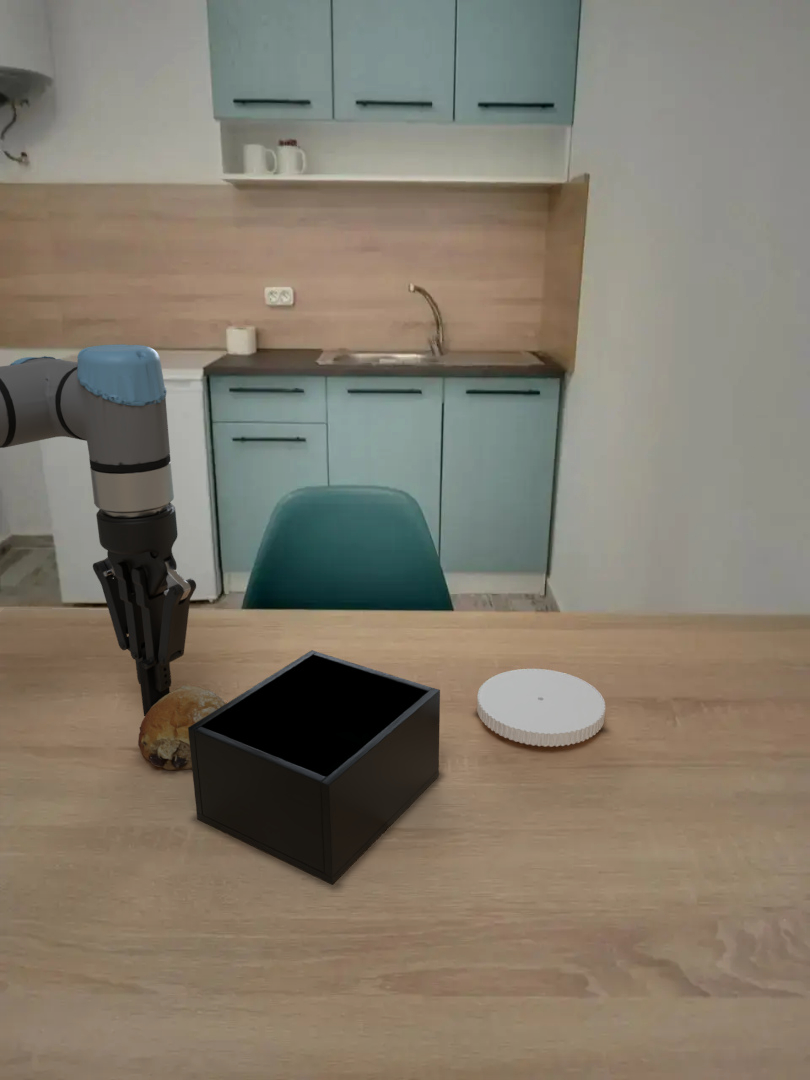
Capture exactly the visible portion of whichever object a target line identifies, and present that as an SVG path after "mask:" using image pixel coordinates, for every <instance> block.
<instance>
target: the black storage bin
mask: <svg viewBox="0 0 810 1080" xmlns="http://www.w3.org/2000/svg"><path fill="white" fill-rule="evenodd" d="M440 718H441V690H440V689H439V688H435V687H431V686H428V685H425V684H421V683H419V682H415V681H412V680H408V679H406V678H402V677H399V676H396V675H393V674H390V673H387V672H384V671H380V670H377V669H373V668H371V667H367V666H365V665H361V664H357V663H354V662H352V661H348V660H345V659H341V658H339V657H335V656H331V655H330V654H329V655H328V654H325V653H322V652H320V651H317V650H312V649H311V650H309V651H308V652H306V653H305V654H303V655H301V656H299V657H298V658H297V659H295V660H294V661H292V662H290V663H289V664H287V665H286V666H284V667H282V668H280V669H279V670H278V671H276V672H274V673H273V674H271V675H270V676H267V677H266V678H264V679H263V680H261V681H259V682H258V683H257V684H255V685H254V686H252V687H250V688H249V689H247V690H246V691H244V692H242V693H241V694H239V695H238V696H236V697H235V698H233V699H231V700H229V701H228V702H226V704H225V705H223V706H222V707H220V708H219V709H217V710H215V711H214V712H212V713H211V714H209V715H207V716H206V717H204V718H203V719H201V720H199V721H198V722H196V723H195V724H193V725H191V726H190V727H188V733H189V743H190V752H191V762H192V768H191V771H192V772H191V773H192V782H193V788H194V789H193V790H194V801H195V810H196V819H197V820H198V821H200V822H201V823H203V824H206V825H207V826H210V827H213V828H214V829H217V831H220V832H222V833H224V834H227V835H229V836H231V837H232V838H235V839H237V840H239V841H241V842H243V843H246V844H248V845H250V846H252V847H253V848H255V849H258V850H260V851H262V852H264V853H266V854H268V855H270V856H272V857H273V858H275V859H278V860H280V861H283V862H284V863H287V864H288V865H290V866H293V867H294V868H297V869H298V870H301V871H304V872H305V873H307V874H309V875H311V876H313V877H315V878H317V879H320V880H321V881H324V882H325V883H328V884H330V885H334V884H335V883H336V882H337V881H338V880H339V879H340V878H341V877H342V876H343V875H344V874H345V873H346V872H347V871H348V870H349V868H351V867H352V866H353V865H354V864H355V863H356V861H358V860H359V858H360V857H361V856H363V854H364V853H366V851H367V850H368V849H369V848H370V847H371V846H372V845H373V844H374V843H375V842H376V841H377V840H378V839H379V838H380V837H381V836H382V835H383V834H384V833H385V832H386V831H387V830H388V829H389V828H390V827H391V826H392V825H393V823H395V822H396V821H397V820H398V818H400V817H401V815H402V814H404V813H405V812H406V810H407V809H409V807H410V806H411V805H412V804H413V803H414V802H416V800H417V799H418V798H419V797H420V796H421V795H422V794H423V793H424V792H425V791H426V790H427V789H428V788H429V787H430V786H431V785H432V784H433V783H434V782H435V781H436V780H437V779H438V778H439V775H440V769H439V768H440V725H441V723H440V720H441V719H440Z"/></svg>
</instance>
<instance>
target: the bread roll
mask: <svg viewBox="0 0 810 1080" xmlns="http://www.w3.org/2000/svg"><path fill="white" fill-rule="evenodd" d="M225 704H227V702H226V701H225V700H224V699H223V698H222V697H221V696H220V695H218V694H217V693H216V692H214V691H212V690H211V689H209V688H204V687H201V686H191V685H182V686H180V687H179V688H177V689H175V690H173V691H170V693H169V694H167V695H165V696H164V697H163V698H161V699H160V700H159V701H158V702H157V703H156V704H154V705H153V706H152V707H151V709H150V710H149V711H148V713H147V714H146V716H143V717H144V718H143V719H142V721H141V723H140V726H139V733H138V741H137V742H138V743H137V744H138V747H139V750H140V752H141V755H143V756H144V758H145V760H146V761H149V762H150V763H151V764H152V765H153V766H155V767H158V768H163V769H164V770H166V771H167V770H169V771H170V770H172V771H181V770H192V762H191V752H190V743H189V733H188V727H190V726H191V725H193V724H195V723H196V722H198V721H199V720H201V719H203V718H204V717H206V716H207V715H209V714H211V713H212V712H214V711H215V710H217V709H219V708H220V707H222V706H223V705H225Z"/></svg>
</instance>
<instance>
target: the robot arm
mask: <svg viewBox="0 0 810 1080" xmlns="http://www.w3.org/2000/svg"><path fill="white" fill-rule="evenodd" d="M76 358H77V361H71V360H64V359H62V358H55V357H53V356H47V355H44V356H39V357H36V356H33V357H32V356H28V357H22V358H19V359H17V360H14V361H13V362H11V363H10V364H9V365H8V364H7V365H2V366H0V449H1V448H2V449H5V448H9V447H15V446H19V445H24V444H28V443H34V442H39V441H43V440H48V439H54V438H61V437H62V438H63V437H64V438H70V439H75V440H80V441H86V444H87V451H88V456H89V458H88V459H89V466H90V467H89V468H90V478H91V486H92V487H91V488H92V496H93V504H94V505H95V507H96V508H97V509H98V511H97V512H96V514H95V516H96V523H97V533H98V540H99V544H100V546H101V547H102V548H103V549H104V550H106V551H107V552H106V555H107V557H105V558H104V559H102V560H99V561H96V562H94V563H93V564H92V569H93V572H94V573H95V576H96V578H97V580H98V581H99V583H100V584H101V585H100V586H101V588H102V592H103V595H104V599H105V602H106V605H107V609H108V613H109V617H110V619H111V622H112V623H111V624H112V626H113V629H114V633H115V637H116V640H117V643H118V646H119V649H120V650H122V651H126V650H127V651H129V652H130V656H131V658H132V659H133V660H134V661H135V669H136V677H137V678H136V679H137V681H138V684H139V685H140V686H139V687H140V693H141V694H140V695H141V702H142V711H143V717H145V716H146V714H147V713H148V711H149V710H150V709H151V707H152V706H153V705H154V704H156V703H157V702H158V701H159V700H160V699H161V698H163V697H164V696H165V695H167V694H169V693H171V690H170V687H172V675H171V674H172V673H171V664H170V663H172V662H174V661H175V660H177V659H179V658H181V657H183V656H184V654H185V647H186V639H187V629H188V622H189V614H190V613H189V612H190V604H191V598H192V596H193V594H194V593H195V591H196V589H197V583H196V581H195V580H194V579H193V578H188V579H186V580H185V579H184V578H183V576H181V575H180V573H179V572H178V571H177V568H178V566H177V561H176V559H175V557H174V553H173V547H174V545H175V542H176V541H177V538H178V536H179V535H178V524H177V512H176V507H175V506H174V505H173V504H172V503H171V502H172V501H173V500H174V498H175V494H174V484H173V475H172V464H171V463H172V462H171V448H170V437H169V434H170V433H169V424H168V413H167V412H168V411H167V410H168V409H167V400H166V399H167V387H166V386H165V380H164V374H163V369H162V362H161V357H160V355H159V353H158V351H156V350H155V349H154V348H152V347H150V346H148V345H142V344H123V343H121V344H120V343H119V344H118V343H117V344H101V345H94V346H88V347H85V348H82V349H81V350H80V351H79V352H78V354H77V357H76Z"/></svg>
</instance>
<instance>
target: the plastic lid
mask: <svg viewBox="0 0 810 1080" xmlns="http://www.w3.org/2000/svg"><path fill="white" fill-rule="evenodd" d="M476 711H477V715H478V717H479V719H480V720H481V722H482V723H484V725H485V726H486V727H487V728H488V729H490V731H491V732H494V733H495V734H498V735H499V736H501V737H503V738H505V739H508V740H509V741H513V742H516V743H517V742H519V744H525V745H526V746H527V745H528V746H529V745H531V746H532V747H533V746H537V747H541V746H542V747H544V748H545V747H550V748H552V747H557V748H558V747H559V746H560V747H565V746H570V745H575V744H579V743H581V742H585V741H586V740H589V739H590V738H593V736H595V735H596V734H597V733H599V731H601V729H602V728H603V725H604V723H605V717H606V701H605V699H604V696H602V693H600V691H599V690H597V687H594V685H591V684H590V683H589V682H587V680H583V679H582V678H579V677H578V676H574V674H569V673H564V671H561V672H560V671H559V670H553V669H548V668H546V669H543V668H536V667H535V668H523V669H522V668H519V669H513V670H511V669H510V670H506V671H505V672H500V673H497V674H496V675H493V676H490V677H489V679H486V681H483V683H481V685H480V687H479V689H478V691H477V697H476Z"/></svg>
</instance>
